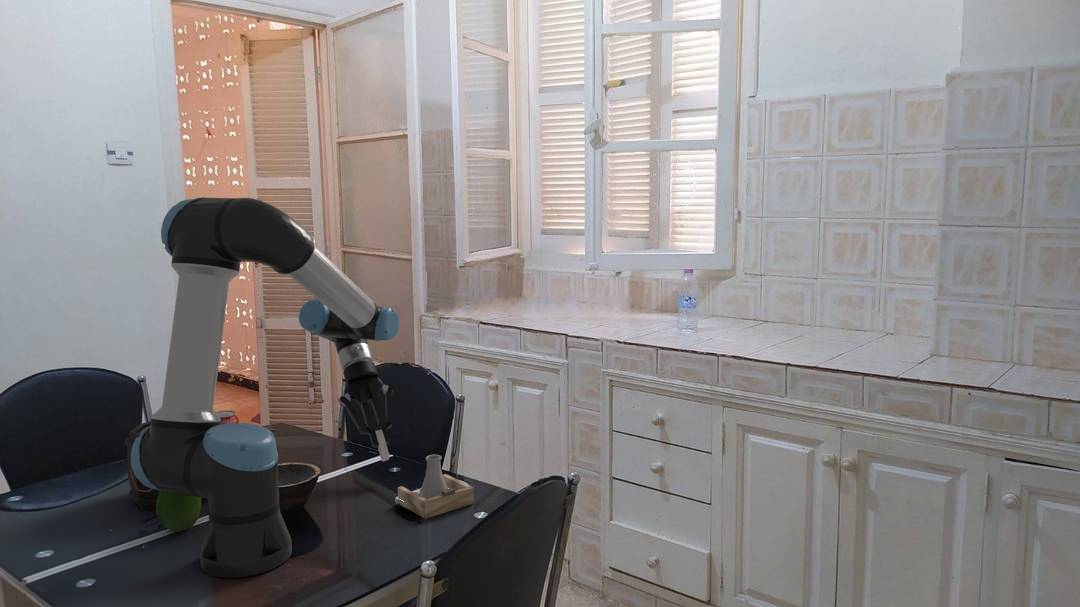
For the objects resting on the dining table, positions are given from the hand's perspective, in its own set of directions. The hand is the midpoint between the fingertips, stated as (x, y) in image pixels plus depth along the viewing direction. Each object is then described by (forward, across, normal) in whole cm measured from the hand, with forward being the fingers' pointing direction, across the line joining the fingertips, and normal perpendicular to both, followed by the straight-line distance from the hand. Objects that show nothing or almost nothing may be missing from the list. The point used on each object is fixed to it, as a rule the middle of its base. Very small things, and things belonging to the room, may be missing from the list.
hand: (385, 458), depth 170 cm
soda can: (-18, -32, +26) cm, 45 cm away
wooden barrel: (-7, -43, +10) cm, 44 cm away
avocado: (+5, -43, -5) cm, 43 cm away
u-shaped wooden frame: (+15, +5, -9) cm, 18 cm away
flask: (+15, +5, -8) cm, 18 cm away
